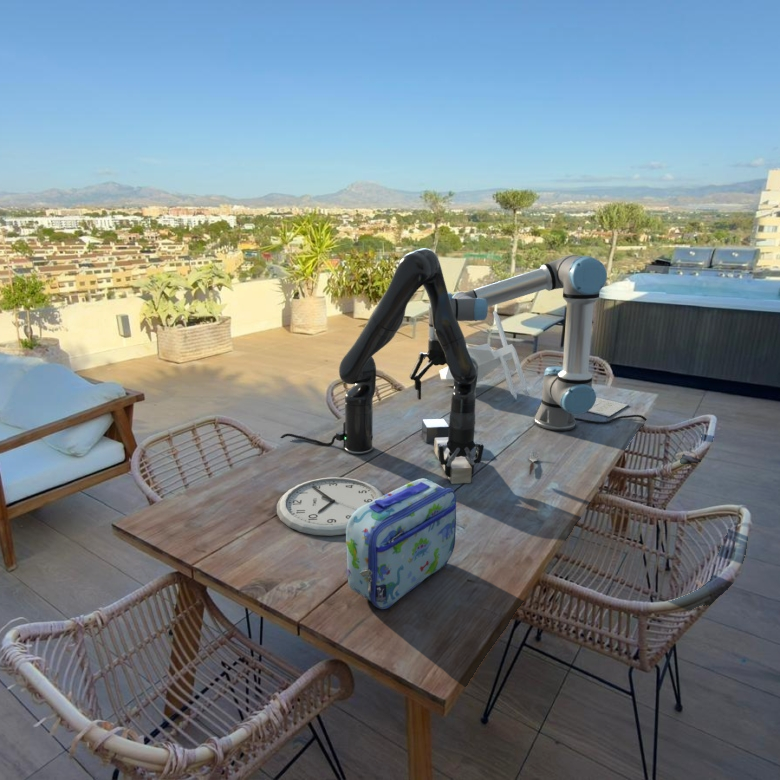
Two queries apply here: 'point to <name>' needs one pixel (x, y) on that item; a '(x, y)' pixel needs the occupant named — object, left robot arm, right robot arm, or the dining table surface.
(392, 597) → the lunch box
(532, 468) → the fork
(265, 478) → the dining table surface
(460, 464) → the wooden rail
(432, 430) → the slate block
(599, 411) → the invitation card
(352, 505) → the wall clock
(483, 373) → the white plastic object
